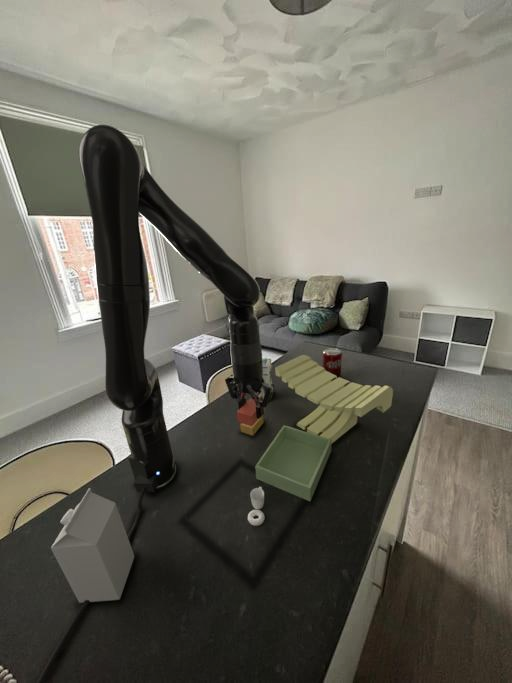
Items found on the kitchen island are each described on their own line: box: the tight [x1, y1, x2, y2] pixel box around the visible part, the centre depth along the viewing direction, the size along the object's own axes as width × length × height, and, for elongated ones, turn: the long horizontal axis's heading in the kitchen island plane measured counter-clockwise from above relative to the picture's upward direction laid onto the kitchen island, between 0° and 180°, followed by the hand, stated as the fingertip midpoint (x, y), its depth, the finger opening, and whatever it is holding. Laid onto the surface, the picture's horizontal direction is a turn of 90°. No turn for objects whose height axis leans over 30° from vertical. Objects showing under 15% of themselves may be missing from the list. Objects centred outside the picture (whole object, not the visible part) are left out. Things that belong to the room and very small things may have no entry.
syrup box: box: [256, 357, 274, 398], centre depth 102 cm, size 6×6×14 cm
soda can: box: [322, 347, 343, 378], centre depth 112 cm, size 7×7×12 cm
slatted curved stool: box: [274, 354, 394, 445], centre depth 85 cm, size 30×16×18 cm, turn 39°
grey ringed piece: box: [247, 486, 266, 527], centre depth 63 cm, size 9×8×4 cm
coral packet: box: [236, 397, 266, 426], centre depth 74 cm, size 7×4×3 cm, turn 150°
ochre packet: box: [239, 415, 265, 436], centre depth 88 cm, size 7×4×3 cm, turn 150°
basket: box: [254, 424, 332, 502], centre depth 73 cm, size 17×14×4 cm
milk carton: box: [50, 487, 135, 604], centre depth 48 cm, size 7×7×19 cm
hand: (251, 414), depth 74 cm, fingers closed on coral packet, 4 cm apart
